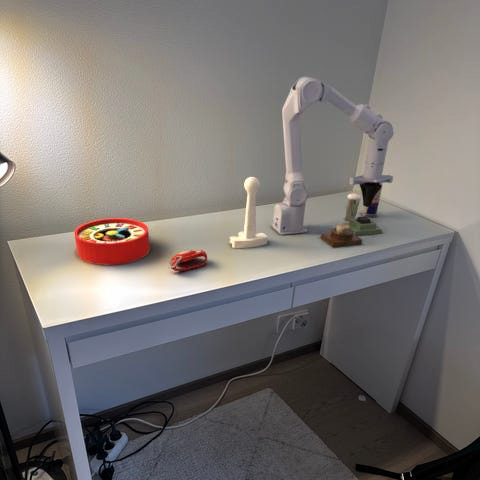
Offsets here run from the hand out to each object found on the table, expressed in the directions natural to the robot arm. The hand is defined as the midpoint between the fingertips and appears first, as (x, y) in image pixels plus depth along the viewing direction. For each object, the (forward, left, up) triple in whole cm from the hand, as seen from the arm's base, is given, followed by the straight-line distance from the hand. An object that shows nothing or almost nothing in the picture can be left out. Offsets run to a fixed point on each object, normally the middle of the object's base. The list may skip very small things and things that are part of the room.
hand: (366, 205), depth 143 cm
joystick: (-41, -1, -8) cm, 42 cm away
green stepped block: (0, 0, -8) cm, 8 cm away
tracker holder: (-63, -12, -8) cm, 65 cm away
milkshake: (+2, +10, -8) cm, 13 cm away
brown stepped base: (-12, -7, -8) cm, 16 cm away
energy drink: (+11, +13, -8) cm, 19 cm away
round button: (-12, -7, -5) cm, 15 cm away
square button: (0, 0, -6) cm, 6 cm away
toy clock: (-80, +3, -8) cm, 81 cm away
